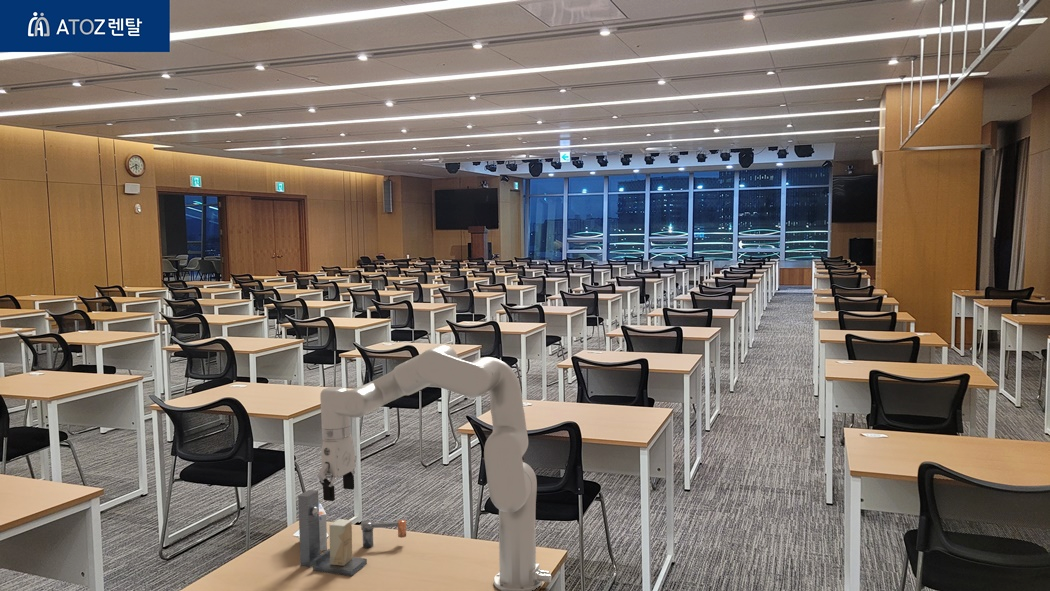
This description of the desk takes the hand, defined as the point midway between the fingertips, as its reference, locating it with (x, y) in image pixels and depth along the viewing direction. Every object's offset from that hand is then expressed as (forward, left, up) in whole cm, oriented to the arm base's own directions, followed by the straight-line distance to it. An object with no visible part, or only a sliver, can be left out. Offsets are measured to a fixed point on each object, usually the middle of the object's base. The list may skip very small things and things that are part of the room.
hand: (339, 494), depth 201 cm
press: (+3, 0, -21) cm, 21 cm away
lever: (-4, -17, -18) cm, 25 cm away
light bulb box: (+16, -11, -21) cm, 29 cm away
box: (0, 0, -19) cm, 19 cm away
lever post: (0, -15, -21) cm, 25 cm away
